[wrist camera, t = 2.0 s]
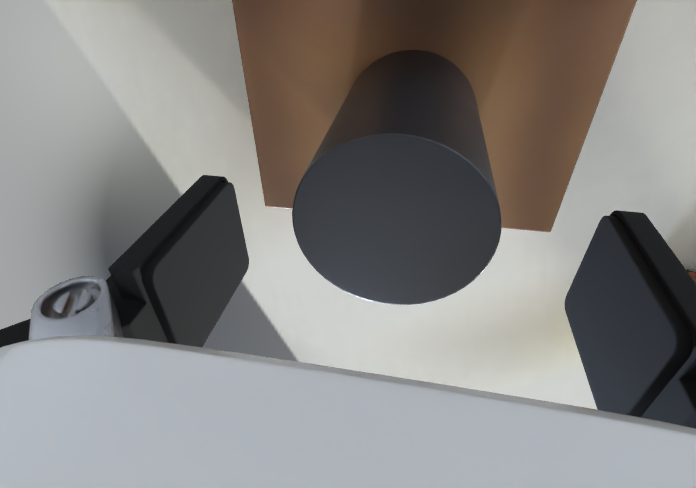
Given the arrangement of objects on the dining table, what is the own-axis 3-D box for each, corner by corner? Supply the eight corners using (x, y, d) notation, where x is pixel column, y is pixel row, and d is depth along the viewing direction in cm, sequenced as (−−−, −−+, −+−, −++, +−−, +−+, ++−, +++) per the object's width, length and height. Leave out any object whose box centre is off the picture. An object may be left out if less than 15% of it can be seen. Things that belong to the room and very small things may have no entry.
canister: (346, 173, 19) (300, 293, 13) (344, 47, 15) (280, 126, 9) (464, 182, 18) (478, 315, 12) (489, 51, 15) (528, 141, 8)
